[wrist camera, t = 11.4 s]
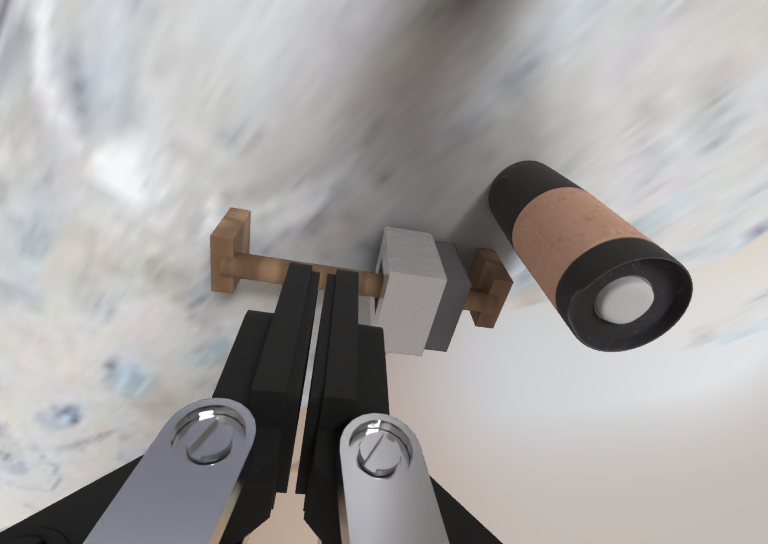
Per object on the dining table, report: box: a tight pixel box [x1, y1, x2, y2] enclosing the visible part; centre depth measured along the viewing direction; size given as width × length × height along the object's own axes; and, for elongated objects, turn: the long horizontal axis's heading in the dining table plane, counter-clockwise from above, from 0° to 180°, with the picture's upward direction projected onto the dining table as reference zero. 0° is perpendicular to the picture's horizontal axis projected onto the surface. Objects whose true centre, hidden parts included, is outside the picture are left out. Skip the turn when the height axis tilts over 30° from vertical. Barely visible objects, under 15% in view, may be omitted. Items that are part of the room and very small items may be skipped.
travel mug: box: [489, 161, 693, 352], centre depth 33 cm, size 8×8×20 cm
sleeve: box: [370, 226, 447, 356], centre depth 40 cm, size 5×9×9 cm, turn 169°
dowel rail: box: [210, 208, 513, 328], centre depth 42 cm, size 29×6×7 cm, turn 79°
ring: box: [424, 241, 472, 352], centre depth 41 cm, size 2×8×8 cm, turn 169°
